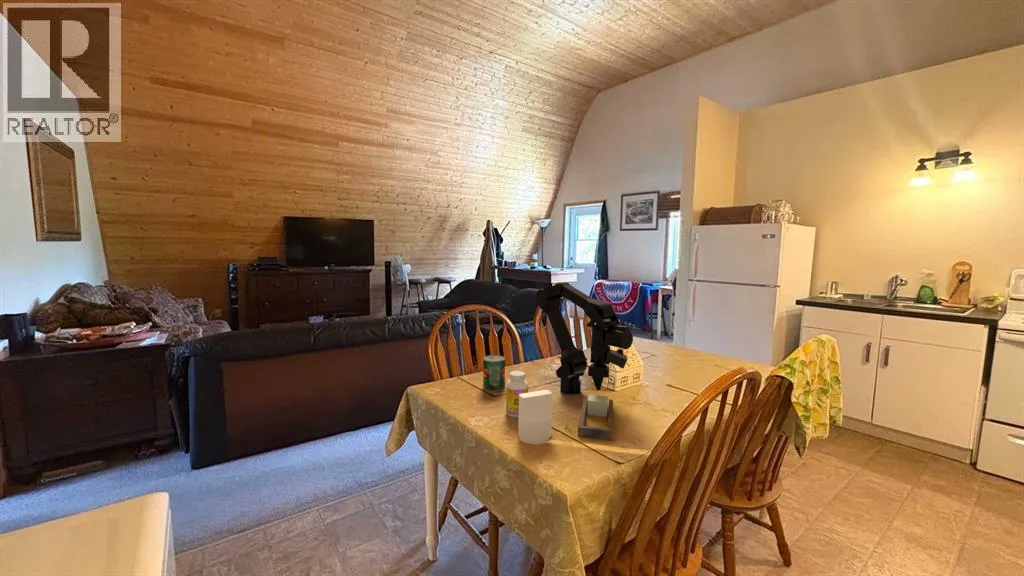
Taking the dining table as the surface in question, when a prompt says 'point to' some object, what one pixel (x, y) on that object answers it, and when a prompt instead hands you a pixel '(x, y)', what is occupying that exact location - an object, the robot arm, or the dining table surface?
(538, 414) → the cylinder with rectangular tab
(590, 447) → the dining table surface
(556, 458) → the dining table surface
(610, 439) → the chute
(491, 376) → the canned tomato
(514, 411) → the supplement bottle
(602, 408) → the block
